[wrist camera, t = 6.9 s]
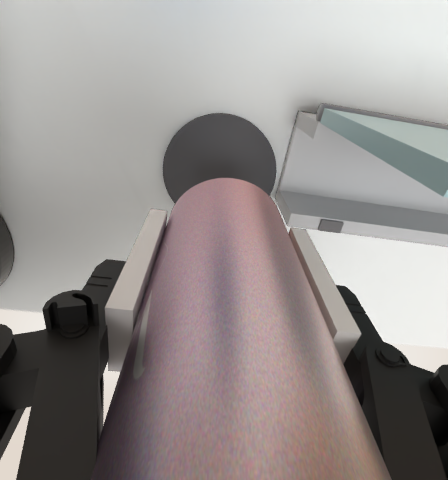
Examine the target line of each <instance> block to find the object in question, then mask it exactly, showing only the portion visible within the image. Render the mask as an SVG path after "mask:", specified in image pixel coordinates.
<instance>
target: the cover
mask: <svg viewBox="0 0 448 480" xmlns="http://www.w3.org/2000/svg"><path fill="white" fill-rule="evenodd" d="M316 121H319V122H320V123H321V124H323V125H324V126H326V127H328V128H329V129H331V130H333V131H334V132H336V133H338V134H339V135H341V136H343V137H344V138H346V139H348V140H349V141H351V142H353V143H354V144H356V145H358V146H359V147H361V148H363V149H364V150H366V151H368V152H369V153H371V154H373V155H374V156H376V157H378V158H379V159H381V160H383V161H384V162H386V163H388V164H389V165H391V166H393V167H394V168H396V169H398V170H399V171H401V172H403V173H404V174H406V175H408V176H409V177H411V178H413V179H414V180H416V181H418V182H419V183H421V184H423V185H424V186H426V187H428V188H429V189H431V190H433V191H434V192H436V193H438V194H439V195H441V196H443V197H447V198H448V125H444V124H438V123H432V122H427V121H421V120H415V119H410V118H404V117H398V116H393V115H387V114H381V113H376V112H370V111H364V110H359V109H353V108H347V107H342V106H336V105H330V104H325V103H321V104H320V105H319V107H318V110H317V114H316Z"/></svg>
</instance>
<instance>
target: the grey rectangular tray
mask: <svg viewBox="0 0 448 480" xmlns="http://www.w3.org/2000/svg"><path fill="white" fill-rule="evenodd" d="M275 199H276V202H277V204H278V206H279V208H280V211H281V213H282V215H283V217H284V220H285V222H286V224H287V226H291V227H299V228H306V229H314V230H320V231H328V232H335V233H344V234H352V235H360V236H367V237H375V238H382V239H390V240H398V241H405V242H413V243H420V244H428V245H436V246H443V247H448V198H447V197H443V196H441V195H439V194H438V193H436V192H434V191H433V190H431V189H429V188H428V187H426V186H424V185H423V184H421V183H419V182H418V181H416V180H414V179H413V178H411V177H409V176H408V175H406V174H404V173H403V172H401V171H399V170H398V169H396V168H394V167H393V166H391V165H389V164H388V163H386V162H384V161H383V160H381V159H379V158H378V157H376V156H374V155H373V154H371V153H369V152H368V151H366V150H364V149H363V148H361V147H359V146H358V145H356V144H354V143H353V142H351V141H349V140H348V139H346V138H344V137H343V136H341V135H339V134H338V133H336V132H334V131H333V130H331V129H329V128H328V127H326V126H324V125H323V124H321V123H320V122H319V121H316V114H314V113H308V112H303V111H298V113H297V117H296V121H295V125H294V129H293V133H292V136H291V140H290V144H289V148H288V152H287V155H286V159H285V163H284V167H283V171H282V175H281V178H280V182H279V186H278V190H277V194H276V197H275Z"/></svg>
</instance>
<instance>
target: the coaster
mask: <svg viewBox="0 0 448 480" xmlns="http://www.w3.org/2000/svg"><path fill="white" fill-rule="evenodd" d="M163 176H164V182H165V186H166V189H167V191H168V193H169V195H170V197H171V199H172V200H173V201H174V203H175V204H176V202H177V201H178V200H179V198H180V197H181V196H182V195H183V194H184V193H185V192H186V191H188V190H189V189H190V188H192V187H194V186H195V185H197V184H199V183H202V182H204V181H207V180H211V179H217V178H234V179H240V180H244V181H247V182H249V183H252V184H254V185H256V186H257V187H259V188H260V189H262V190H263V191H264V192H265V193H267V194H268V195H270V193H271V191H272V189H273V186H274V183H275V177H276V161H275V156H274V153H273V150H272V147H271V145H270V144H269V142H268V140H267V138H266V137H265V136H264V134H263V133H262V132H261V131H260V130H259V129H258V128H257V127H256V126H255V125H253V124H252V123H251V122H249V121H247V120H245V119H243V118H241V117H238V116H235V115H231V114H223V113H216V114H208V115H204V116H201V117H198V118H196V119H194V120H192V121H190V122H189V123H187V124H186V125H184V126H183V127H182V128H181V129H180V130H179V131H178V132H177V133H176V135H175V136H174V137H173V139H172V140H171V142H170V144H169V146H168V148H167V150H166V153H165V157H164V162H163Z"/></svg>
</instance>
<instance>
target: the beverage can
mask: <svg viewBox="0 0 448 480" xmlns="http://www.w3.org/2000/svg"><path fill="white" fill-rule="evenodd" d="M91 480H392V479H391V477H390V474H389V472H388V470H387V467H386V465H385V462H384V460H383V458H382V455H381V453H380V451H379V448H378V446H377V443H376V441H375V439H374V436H373V434H372V432H371V429H370V427H369V424H368V422H367V420H366V417H365V415H364V413H363V410H362V408H361V405H360V403H359V401H358V398H357V396H356V394H355V391H354V389H353V386H352V384H351V382H350V379H349V377H348V375H347V372H346V370H345V367H344V365H343V363H342V360H341V358H340V356H339V353H338V351H337V348H336V346H335V344H334V341H333V339H332V337H331V334H330V332H329V329H328V327H327V325H326V322H325V320H324V318H323V315H322V313H321V310H320V308H319V306H318V303H317V301H316V299H315V296H314V294H313V291H312V289H311V287H310V284H309V282H308V280H307V277H306V275H305V272H304V270H303V268H302V265H301V263H300V261H299V258H298V256H297V253H296V251H295V249H294V246H293V244H292V242H291V239H290V237H289V234H288V232H287V230H286V227H285V225H284V223H283V220H282V218H281V215H280V213H279V211H278V208H277V206H276V205H275V203H274V202H273V200H272V199H271V198H270V196H269V195H268V194H267V193H265V192H264V191H263V190H262V189H260V188H259V187H257V186H256V185H254V184H252V183H249V182H247V181H244V180H240V179H234V178H217V179H211V180H207V181H204V182H202V183H199V184H197V185H195V186H194V187H192V188H190V189H189V190H188V191H186V192H185V193H184V194H183V195H182V196H181V197H180V198H179V200H178V201H177V202H176V204H175V205H174V207H173V209H172V211H171V214H170V217H169V220H168V223H167V226H166V230H165V233H164V236H163V239H162V242H161V245H160V248H159V252H158V255H157V258H156V261H155V264H154V267H153V271H152V274H151V277H150V280H149V283H148V286H147V290H146V293H145V296H144V299H143V302H142V305H141V309H140V312H139V315H138V318H137V321H136V324H135V328H134V331H133V334H132V337H131V340H130V343H129V347H128V350H127V353H126V356H125V359H124V362H123V366H122V369H121V372H120V375H119V378H118V381H117V385H116V388H115V391H114V394H113V397H112V400H111V404H110V407H109V410H108V413H107V416H106V419H105V422H104V426H103V429H102V432H101V435H100V438H99V442H98V448H97V458H96V463H95V467H94V470H93V473H92V477H91Z"/></svg>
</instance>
